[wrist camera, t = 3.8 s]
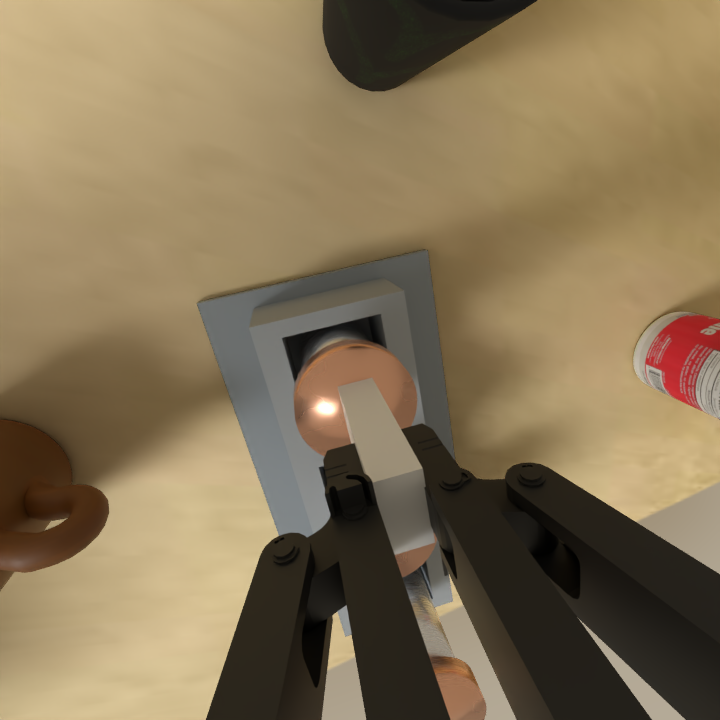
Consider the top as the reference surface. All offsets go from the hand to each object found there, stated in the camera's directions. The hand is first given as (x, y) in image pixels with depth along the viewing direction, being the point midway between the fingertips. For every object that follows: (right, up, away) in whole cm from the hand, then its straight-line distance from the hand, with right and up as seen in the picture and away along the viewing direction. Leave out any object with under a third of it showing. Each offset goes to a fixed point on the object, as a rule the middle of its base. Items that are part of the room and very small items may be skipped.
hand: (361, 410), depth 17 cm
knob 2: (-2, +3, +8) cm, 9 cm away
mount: (0, -4, +12) cm, 13 cm away
